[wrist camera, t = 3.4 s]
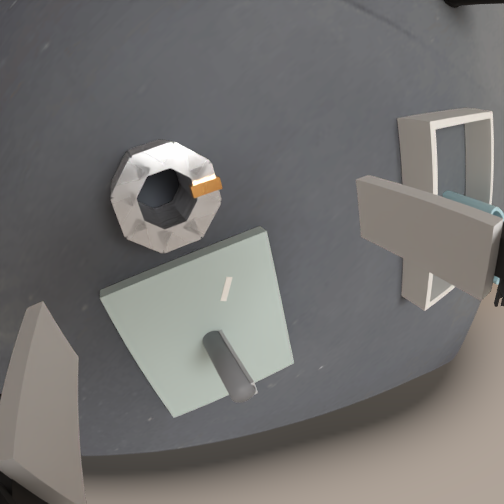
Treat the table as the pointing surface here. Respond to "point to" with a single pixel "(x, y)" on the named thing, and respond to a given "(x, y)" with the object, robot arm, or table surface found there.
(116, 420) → the table surface
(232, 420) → the table surface
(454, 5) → the aerosol can
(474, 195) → the dispenser corral
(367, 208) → the robot arm
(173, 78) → the table surface
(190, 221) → the grey piece
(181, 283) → the peg stand
